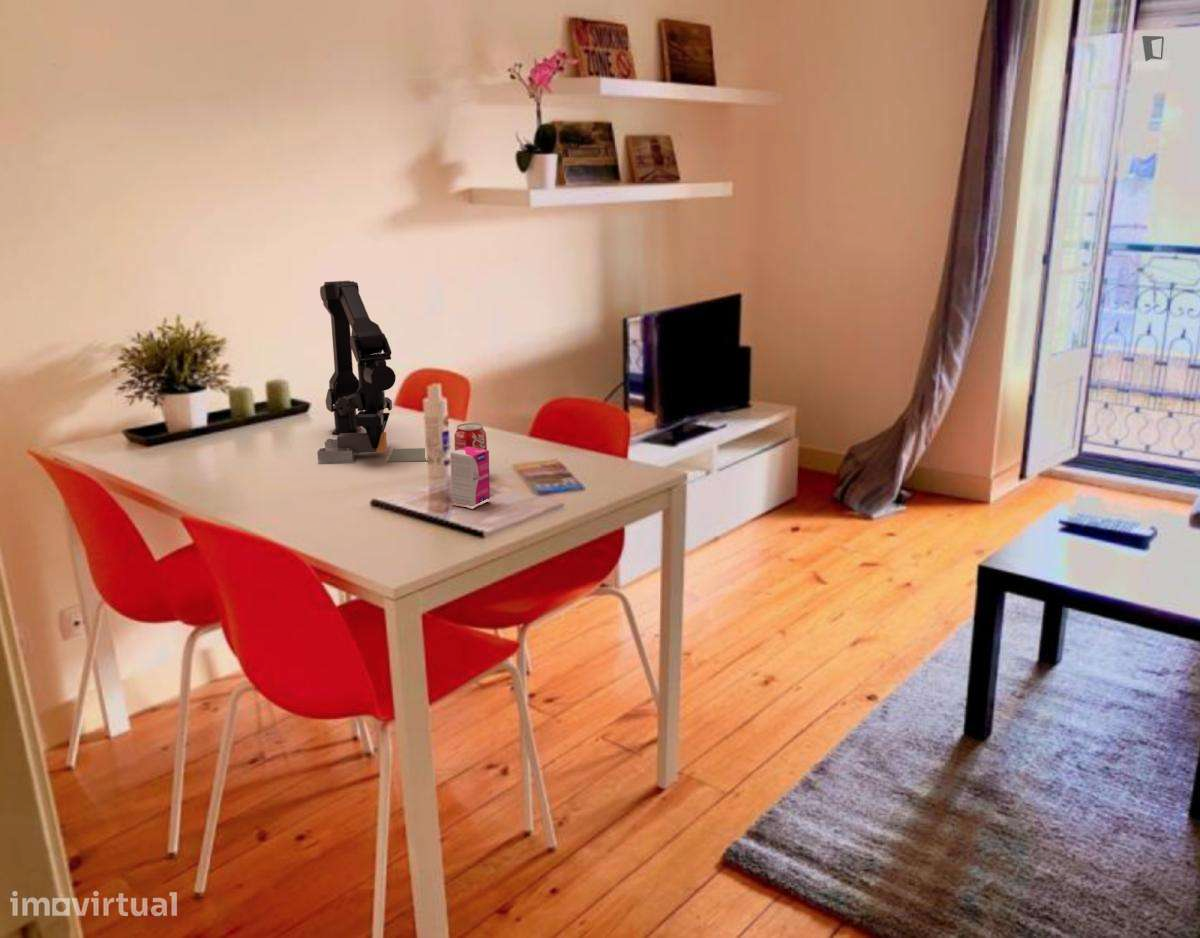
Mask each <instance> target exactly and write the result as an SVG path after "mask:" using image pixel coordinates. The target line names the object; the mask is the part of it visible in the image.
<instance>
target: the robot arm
mask: <svg viewBox="0 0 1200 938" xmlns="http://www.w3.org/2000/svg"><path fill="white" fill-rule="evenodd" d="M323 283H324V284H323V285H321V286H320V288H319V294H320V299H321V301H322V302H323V303H322V305H323V306H324V308H325V309H326V311H327V312H328V314H329V315H330V324H331V337H332V339H331V340H332V349H333V350H332V353H333V362H334V363H333V365H334V372H333V374H332V375H331V376H330V379H329V382H328V383H329V384H328V385H329V386H328V389H327V394H326V397H325V405H326V406H325V407H326V409H327V410H328V412H330V413H333V418H334V429H333V430H332V431H331V434H332V435H339V434H340V433H359V431H360V430H361V428H363V429H364V430H365V433H367V434H368V437H369V440H370V443H371V445H372V448H373V449H377V448H378V444H379V441H380V438H381V434H382V432H385V429H386V427H387V423H388V420H389V418H390V412H385V411H384V410H386V409H387V410H388V411H392V409H393V400H392V399H390V397H386V395H385V391H388V390H390V389H391V388H392V387H394V385H395V383H396V378H397V377H396V373H395V371H394V370H393V368H391V367H390V366H388V365H387V361H389V360H390V361H391V360H392V356H391V355H392V350H391V346H390V343H389V341H388V338H387V337H386V335H385V333H384V332H383V331H382V329H381V328H380V326H379V324H378V323H376V322H375V321H372V319H371V318H370V316H369V314H368V312H367V309H366V306H365V304H364V302H363V300H362V297H361V294H360V291H359V290H360V289H359V283H358V282H356V281H354V280H353V281H351V280H338V281H336V280H335V281H324V282H323ZM353 356H354V358H355V360H356V363H357V374H358V378H357V376H356V375H355V374H354V369H353ZM357 412H358V413H357Z"/></svg>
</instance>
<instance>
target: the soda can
mask: <svg viewBox="0 0 1200 938" xmlns="http://www.w3.org/2000/svg"><path fill="white" fill-rule="evenodd" d="M467 446H469V447H474V448H479V449H484V450H488V445H487V432H486V431H485V429H484V425H483V424H482V423H479V422H466V423H465V422H464V423H461V424H460V423H459V424H458V425H457V426H456V430H455V432H454V451H456V450H459V449H462V448H465V447H467Z"/></svg>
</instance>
